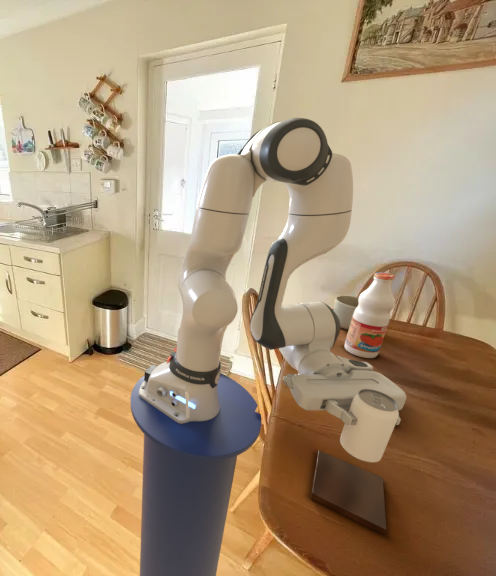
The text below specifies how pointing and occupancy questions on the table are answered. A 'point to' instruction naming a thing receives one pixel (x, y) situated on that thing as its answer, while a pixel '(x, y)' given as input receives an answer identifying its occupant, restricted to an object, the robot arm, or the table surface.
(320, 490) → the board
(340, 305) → the planter
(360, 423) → the can
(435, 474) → the table surface
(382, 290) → the fruit juice
